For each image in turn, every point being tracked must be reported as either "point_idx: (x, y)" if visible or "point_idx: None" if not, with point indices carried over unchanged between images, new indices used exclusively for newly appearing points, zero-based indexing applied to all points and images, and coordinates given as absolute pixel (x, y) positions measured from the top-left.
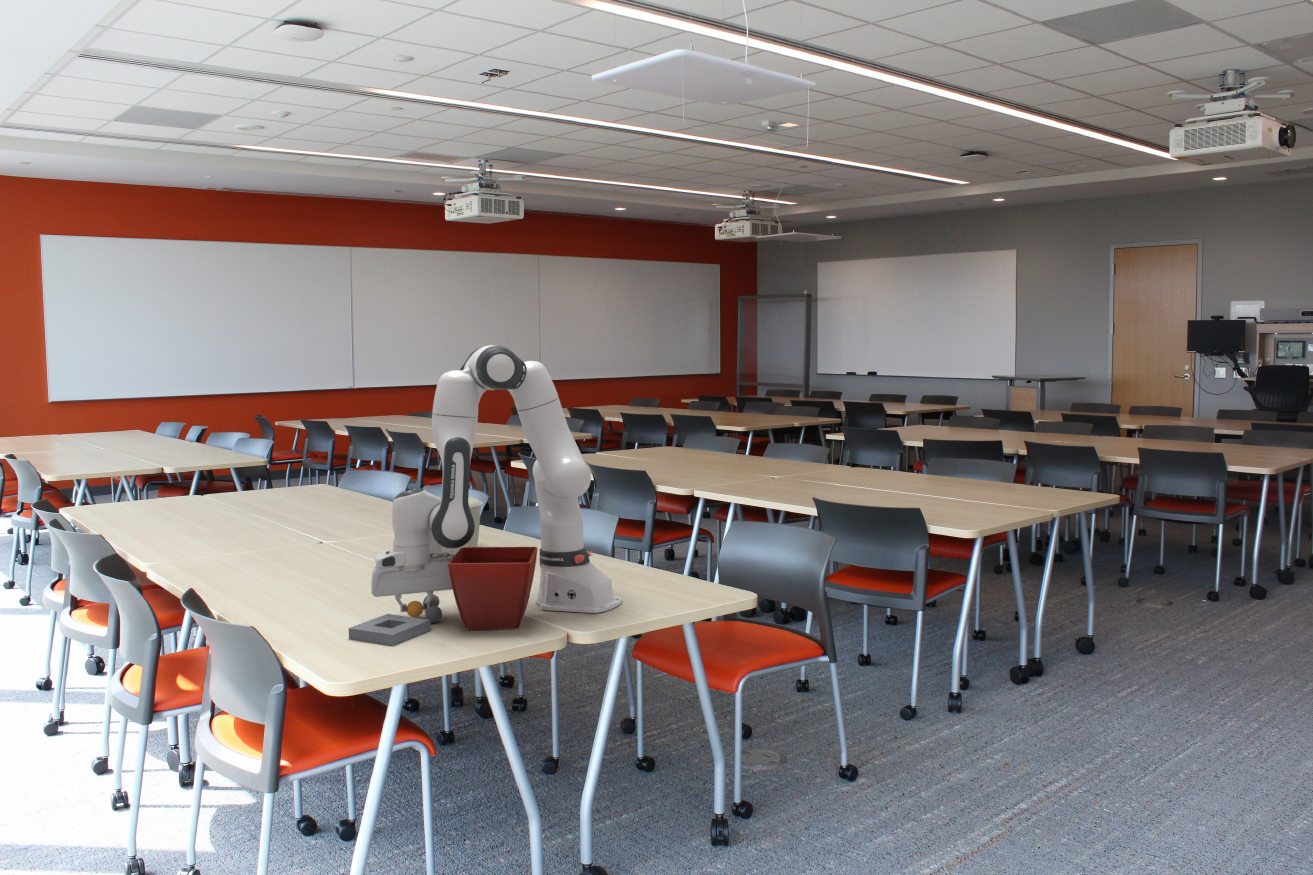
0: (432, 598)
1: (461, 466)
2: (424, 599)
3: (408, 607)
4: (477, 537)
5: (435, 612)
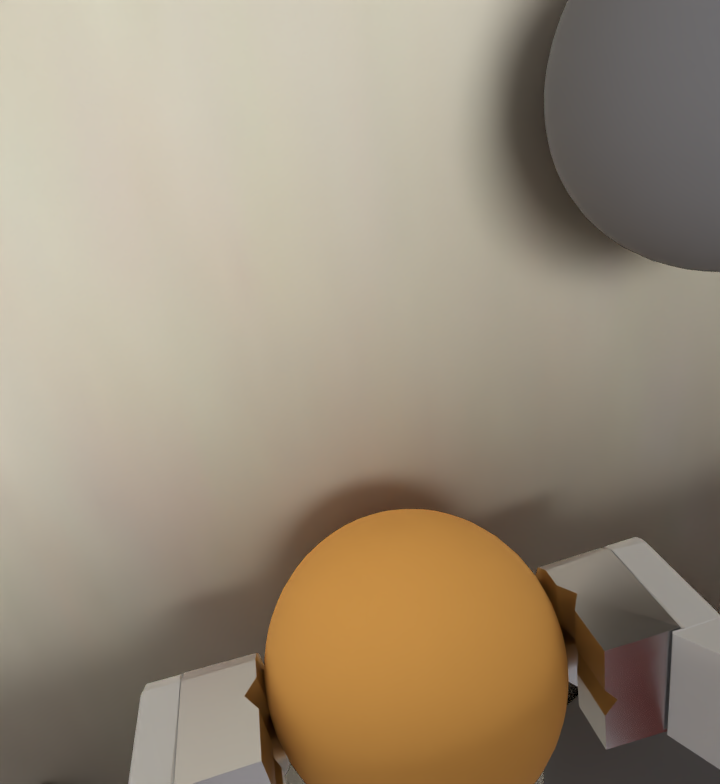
0: None
1: None
2: (642, 145)
3: None
4: None
5: None
